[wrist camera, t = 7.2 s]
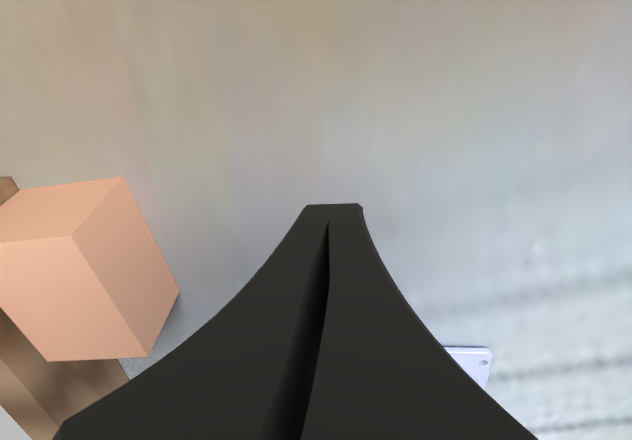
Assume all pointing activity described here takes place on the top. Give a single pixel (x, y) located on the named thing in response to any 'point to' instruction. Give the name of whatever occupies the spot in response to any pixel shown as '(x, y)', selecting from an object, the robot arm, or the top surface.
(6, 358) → the plank
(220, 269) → the top surface
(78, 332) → the block
